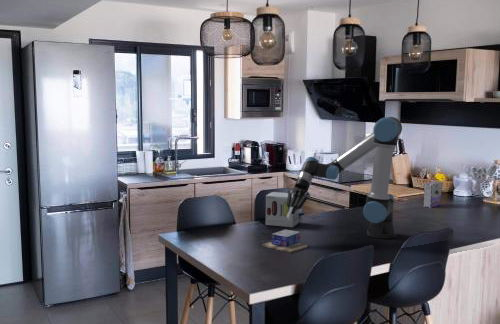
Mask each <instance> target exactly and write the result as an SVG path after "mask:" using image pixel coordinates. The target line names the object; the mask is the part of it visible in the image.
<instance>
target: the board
mask: <svg viewBox="0 0 500 324" xmlns="http://www.w3.org/2000/svg"><path fill="white" fill-rule="evenodd" d="M261 246H262V247H264V248H268V249H273V250H276V251H279V250H280V252H283V251H284V252H283V253H288V254H291V253H292V254H293V253H294V252H297V251H300V250H303V249H307V248H308V244H304V243H301V242H298V243H295V244H292V245H290V246H287V247H286V246H281V245H276V244H272V243H271V241H268V242H266V243H262V245H261Z"/></svg>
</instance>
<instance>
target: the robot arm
mask: <svg viewBox="0 0 500 324" xmlns="http://www.w3.org/2000/svg"><path fill="white" fill-rule="evenodd" d="M402 131H403V124H402V122H401V121H400V120H399V119H398V118H397V117H393V116H388V117H385V116H384V117H382V118H380V119H379V120H377V121H376V122H375V123H374V126H373V131H372V133H370V134H369V135H368V136H366V137H365V138H363V139H361V140H360V141H359V142H357V143H356V144H355V145H353V146H352V147H350V148H349V149H348V150H347V151H345V152H344V153H342V154H341V155H340V156H338V157H337V158H335V159H334V160H332V161H331V162H329V163H327V164H326V163H320V161H319V160H318V158H316V157H313V156H309V157H307V158H305V161H304V163H303V165H302V168H301V169H300V172H299V174H298V177H297V179H296V181H295V184H294V187H293V188H292V189H291V190H287V193H288V198H287V204H286V205H287V207H288V211H287V213H288V214H287V216H286V218H287V219H288V220H291V218H292V216H293V214H295V212H296V210H297V209H299V210H300V209H302V207H303V206H304V204H305V202H307V200H308V199H309V198H310V197H311V194H310V192H308V191H309V188H310V186H311V184H312V180H313V178H314V177H316V178H322V179H326V180H333V181H335V180H337V179H338V177H339V175H340V174H341V173H342V172H343V171H344V170H346V169H347V168H348V167H350V166H351V165H353V164H355V162H357V161H359V160H361V159H362V158H363V157H364V156H366V155H368V154H369V153H370V152H372V151H373V150H375V153H374V163H373V169H372V178H371V186H370V192H368V193H367V194H366V199H365V200H366V201H365V205H364V206H363V208H362V209H363V210H362V213H363V216H364V218H365V219H366V220H367V221H368V222H369V225H368V228H367V232H366V233H367V234H366V235H367V236H369V237H370V238H375V239H382V240H383V239H384V240H386V239H393V238H396V237H397V231H396V227H395V224H394V201H395V198H394V195H393V194H391V193H389V187H390V186H389V184H390V178H391V170H392V163H393V156H394V148H396V147H397V146H398V140H399V136H400V135H401V134H402ZM292 193H293V198H292ZM291 198H292V200H291ZM293 207H294V208H293Z"/></svg>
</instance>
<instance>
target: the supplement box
mask: <svg viewBox="0 0 500 324" xmlns="http://www.w3.org/2000/svg"><path fill="white" fill-rule="evenodd" d="M287 198H288V192H280V191H279V192H277V191H272V192H269V193H268V194H266V195H265V226H275V227H285V228H294V227H296V225H298V224H299V221H300V219H299V211H300V209H297V210H296V212H295V214H293V216H292V218H291V220H288V219H287V218H286V216H287V214H288V213H287V211H288V207H287V205H286V204H287ZM292 198H293V193H292ZM292 198H291V200H292ZM293 208H294V207H293Z"/></svg>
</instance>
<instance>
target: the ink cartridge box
mask: <svg viewBox="0 0 500 324" xmlns="http://www.w3.org/2000/svg"><path fill="white" fill-rule="evenodd" d="M270 238H271V241H270V242H271V243H272V244H276V245H281V246H286V247H287V246H290V245H292V244H295V243H301V232H300V231H297V230H289V229H282V230H280V231H276V232H274V233H273V232H272V233H271V237H270Z"/></svg>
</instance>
